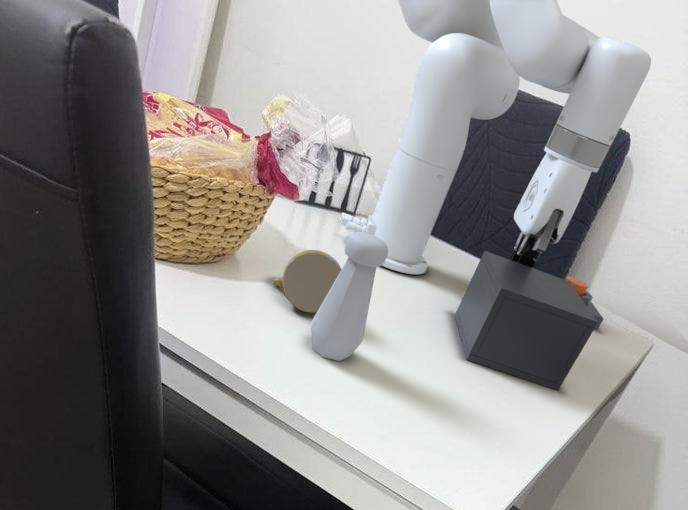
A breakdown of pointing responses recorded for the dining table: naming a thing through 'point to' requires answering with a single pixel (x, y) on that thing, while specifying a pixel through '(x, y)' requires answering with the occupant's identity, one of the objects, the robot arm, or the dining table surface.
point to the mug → (309, 279)
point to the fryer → (523, 321)
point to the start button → (577, 285)
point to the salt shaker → (348, 299)
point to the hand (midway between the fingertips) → (511, 281)
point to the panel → (592, 308)
